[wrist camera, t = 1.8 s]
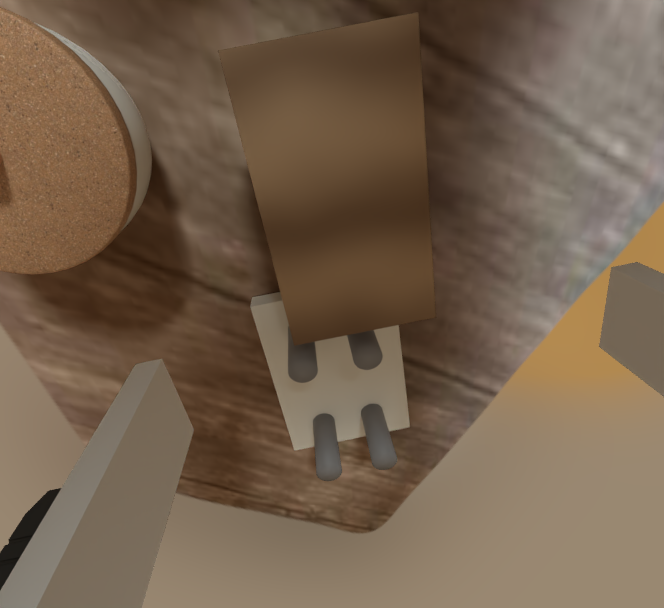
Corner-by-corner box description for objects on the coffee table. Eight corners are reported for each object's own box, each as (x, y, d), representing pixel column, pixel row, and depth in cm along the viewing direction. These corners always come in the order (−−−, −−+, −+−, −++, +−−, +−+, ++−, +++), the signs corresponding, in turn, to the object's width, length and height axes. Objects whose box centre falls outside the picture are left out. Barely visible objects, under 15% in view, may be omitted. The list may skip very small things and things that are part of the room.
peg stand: (251, 297, 29) (242, 346, 23) (388, 270, 29) (413, 311, 23) (294, 437, 35) (295, 503, 29) (405, 414, 35) (428, 476, 29)
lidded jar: (12, -25, 20) (-191, -118, 11) (208, 117, 23) (163, 127, 15) (-52, 160, 23) (-245, 193, 15) (128, 260, 27) (55, 332, 18)
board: (226, 57, 18) (218, 50, 16) (402, 23, 18) (418, 11, 16) (293, 323, 24) (294, 345, 22) (422, 297, 24) (436, 317, 22)
